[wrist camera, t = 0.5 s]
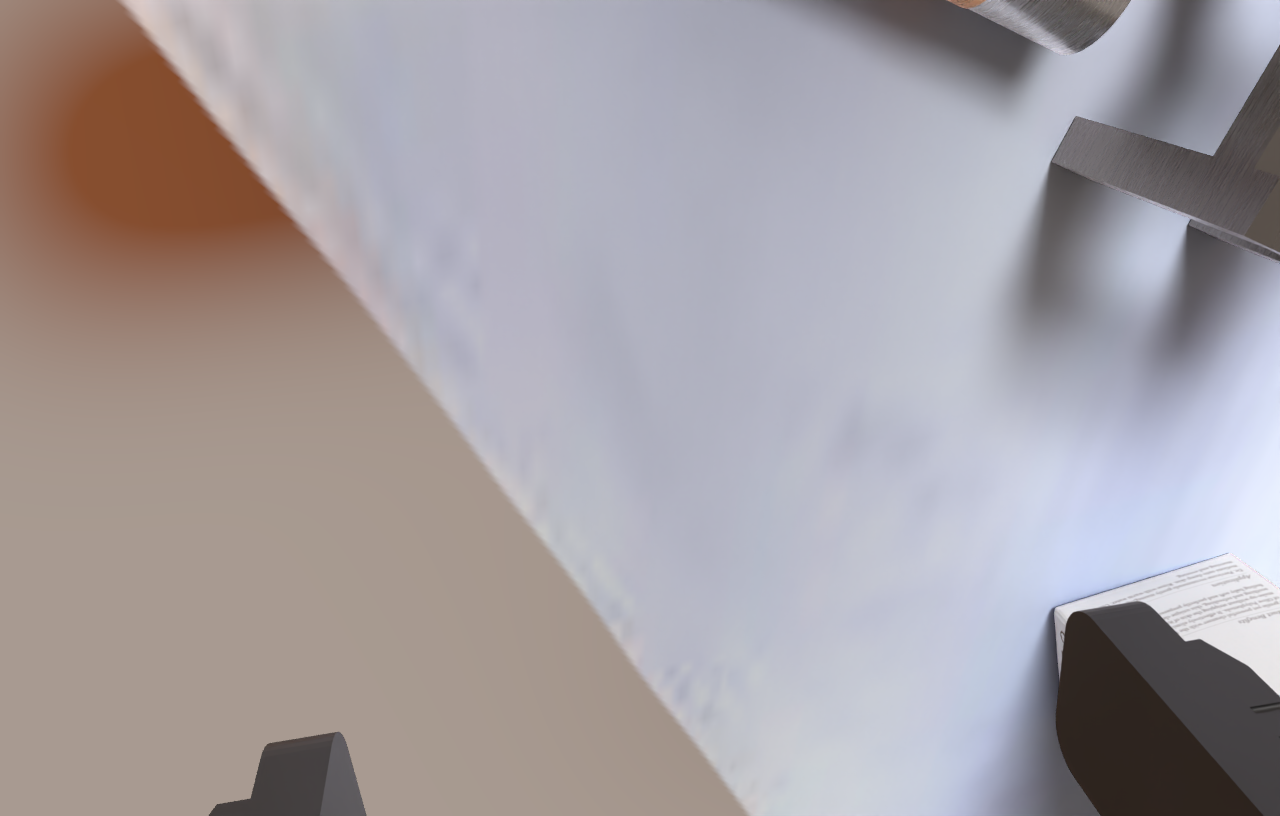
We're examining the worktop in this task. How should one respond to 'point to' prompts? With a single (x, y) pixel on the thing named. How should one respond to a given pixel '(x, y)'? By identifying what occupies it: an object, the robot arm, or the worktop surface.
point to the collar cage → (1197, 170)
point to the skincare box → (1206, 610)
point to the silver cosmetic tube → (1052, 19)
